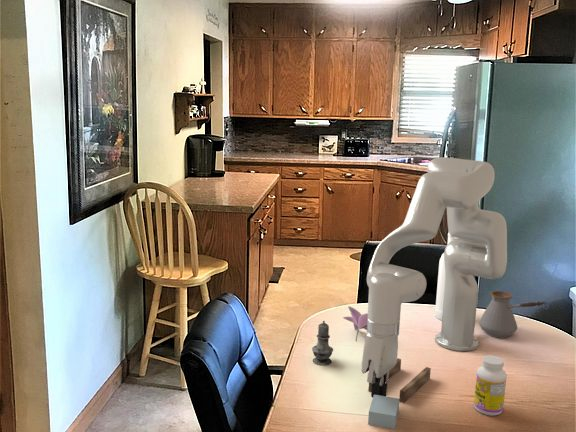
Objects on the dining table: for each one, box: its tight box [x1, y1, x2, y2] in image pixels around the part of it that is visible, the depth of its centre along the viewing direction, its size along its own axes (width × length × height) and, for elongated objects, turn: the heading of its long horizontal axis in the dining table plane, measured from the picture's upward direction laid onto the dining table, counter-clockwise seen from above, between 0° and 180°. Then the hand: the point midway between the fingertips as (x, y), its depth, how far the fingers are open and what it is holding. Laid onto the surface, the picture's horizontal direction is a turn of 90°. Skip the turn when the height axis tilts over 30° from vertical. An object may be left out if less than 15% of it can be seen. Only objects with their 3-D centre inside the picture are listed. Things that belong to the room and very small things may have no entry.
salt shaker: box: [311, 320, 334, 366], centre depth 166 cm, size 6×6×12 cm
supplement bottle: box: [473, 355, 507, 416], centre depth 142 cm, size 7×7×13 cm
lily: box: [342, 306, 368, 342], centre depth 183 cm, size 12×12×10 cm
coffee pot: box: [478, 290, 549, 339], centre depth 184 cm, size 21×12×15 cm, turn 34°
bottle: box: [434, 231, 458, 322], centre depth 198 cm, size 8×8×30 cm
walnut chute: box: [367, 357, 431, 404], centre depth 154 cm, size 16×10×3 cm, turn 144°
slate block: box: [367, 395, 400, 430], centre depth 139 cm, size 8×6×4 cm
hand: (378, 397), depth 145 cm, fingers closed
